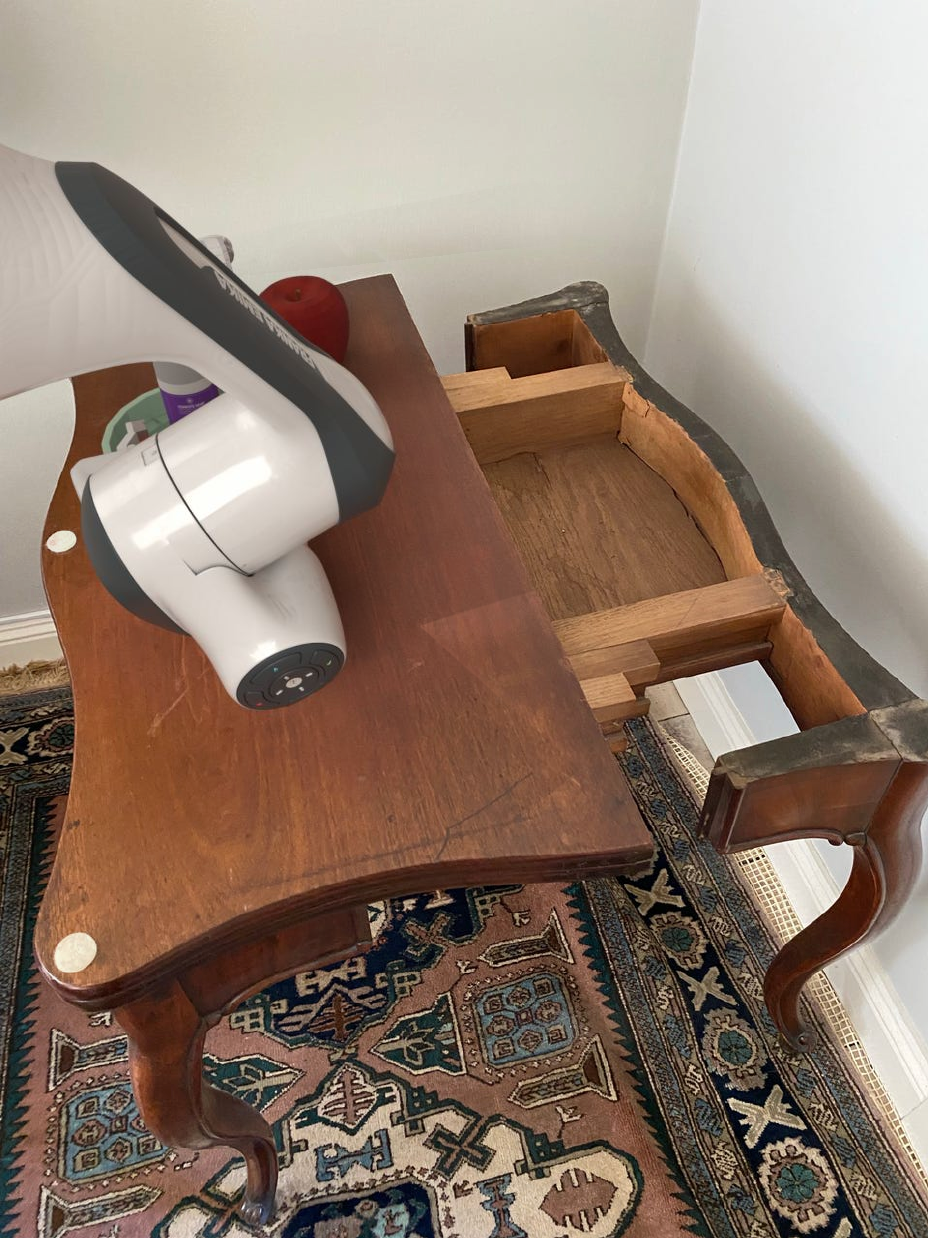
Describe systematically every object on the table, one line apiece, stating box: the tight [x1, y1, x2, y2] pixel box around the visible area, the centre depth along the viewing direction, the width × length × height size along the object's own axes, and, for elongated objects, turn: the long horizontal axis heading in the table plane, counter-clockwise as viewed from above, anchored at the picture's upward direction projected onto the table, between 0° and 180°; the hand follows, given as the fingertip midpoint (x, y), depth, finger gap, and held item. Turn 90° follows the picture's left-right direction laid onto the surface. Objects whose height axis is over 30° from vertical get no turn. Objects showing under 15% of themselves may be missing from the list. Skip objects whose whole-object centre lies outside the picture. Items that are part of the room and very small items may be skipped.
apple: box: [258, 275, 350, 366], centre depth 91 cm, size 10×10×10 cm
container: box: [152, 361, 220, 425], centre depth 77 cm, size 5×5×15 cm
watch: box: [196, 234, 235, 273], centre depth 95 cm, size 6×8×11 cm
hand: (195, 414), depth 73 cm, fingers open, 8 cm apart
